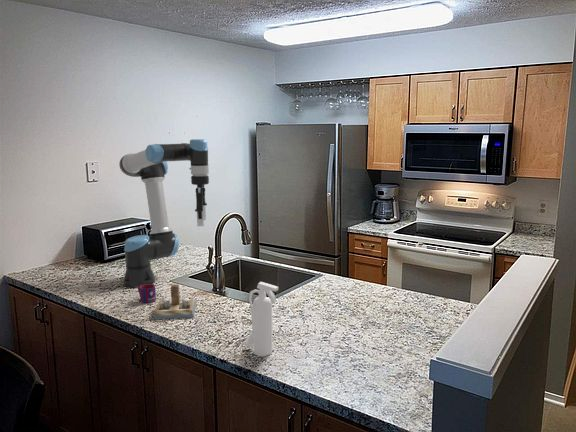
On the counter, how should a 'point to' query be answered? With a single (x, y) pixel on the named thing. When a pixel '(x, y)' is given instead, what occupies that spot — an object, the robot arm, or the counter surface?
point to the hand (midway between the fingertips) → (201, 223)
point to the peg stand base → (175, 304)
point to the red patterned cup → (147, 293)
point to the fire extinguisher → (262, 319)
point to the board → (176, 315)
